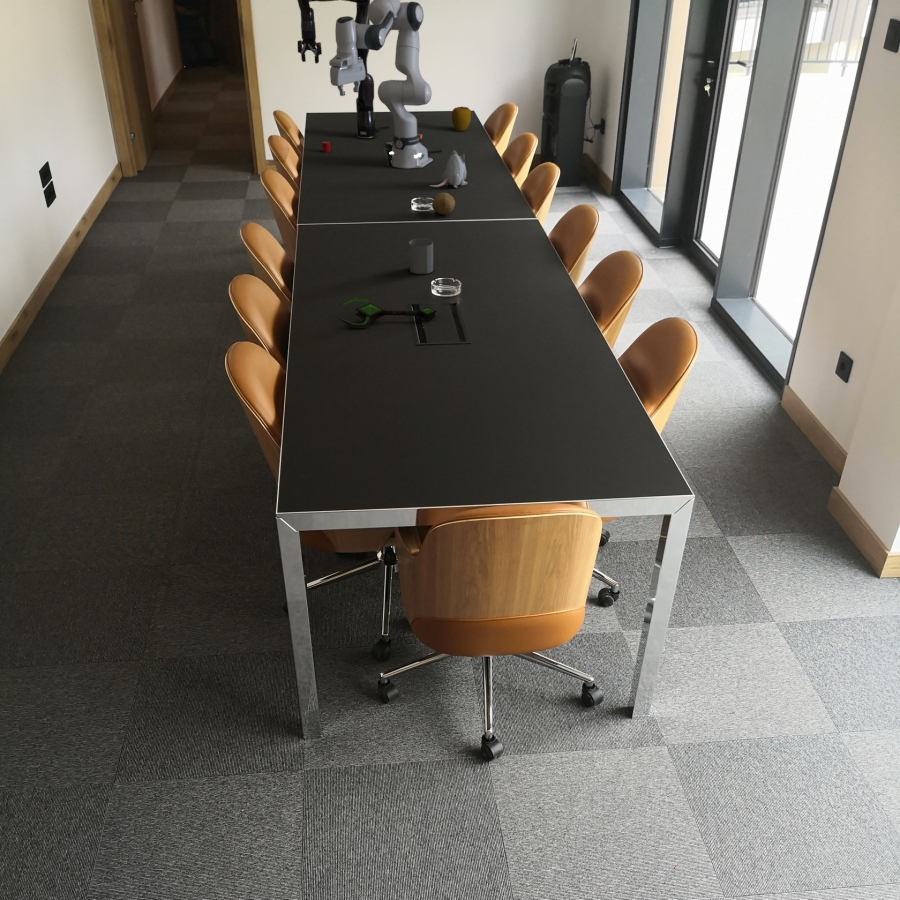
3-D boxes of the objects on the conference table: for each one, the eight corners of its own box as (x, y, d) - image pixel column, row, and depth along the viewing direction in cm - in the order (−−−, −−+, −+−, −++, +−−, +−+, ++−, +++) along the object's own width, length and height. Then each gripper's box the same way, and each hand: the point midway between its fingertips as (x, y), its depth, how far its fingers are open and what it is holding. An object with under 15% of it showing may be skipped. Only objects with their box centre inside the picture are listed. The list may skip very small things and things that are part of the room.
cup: (409, 265, 311) (408, 238, 306) (432, 265, 312) (431, 238, 307) (410, 274, 304) (409, 246, 299) (433, 273, 305) (433, 246, 299)
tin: (322, 152, 449) (321, 143, 447) (322, 150, 452) (321, 141, 450) (330, 152, 450) (330, 143, 447) (330, 150, 453) (329, 141, 451)
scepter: (436, 292, 272) (340, 290, 270) (437, 322, 265) (338, 320, 263) (435, 305, 277) (341, 303, 275) (436, 335, 270) (339, 333, 268)
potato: (453, 208, 369) (453, 189, 365) (456, 218, 357) (456, 199, 353) (431, 208, 368) (430, 189, 364) (432, 218, 356) (432, 199, 352)
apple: (471, 132, 486) (471, 108, 479) (451, 132, 486) (451, 108, 479) (470, 128, 495) (471, 104, 488) (452, 128, 495) (452, 104, 488)
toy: (472, 184, 399) (472, 151, 391) (436, 195, 384) (436, 161, 376) (457, 180, 404) (458, 147, 396) (422, 191, 389) (421, 157, 381)
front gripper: (356, 55, 378) (358, 89, 386) (326, 62, 364) (329, 97, 371) (368, 56, 376) (369, 90, 383) (338, 63, 361) (340, 98, 368)
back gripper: (293, 29, 460) (295, 62, 469) (314, 31, 454) (316, 64, 463) (301, 27, 466) (304, 60, 474) (323, 29, 460) (325, 62, 469)
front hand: (349, 93), depth 377 cm, fingers open, 8 cm apart
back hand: (310, 62), depth 469 cm, fingers open, 8 cm apart
